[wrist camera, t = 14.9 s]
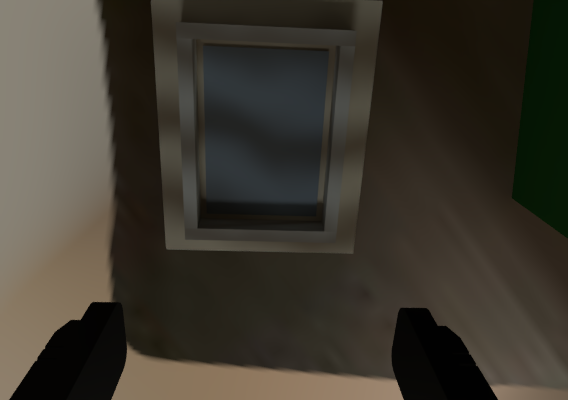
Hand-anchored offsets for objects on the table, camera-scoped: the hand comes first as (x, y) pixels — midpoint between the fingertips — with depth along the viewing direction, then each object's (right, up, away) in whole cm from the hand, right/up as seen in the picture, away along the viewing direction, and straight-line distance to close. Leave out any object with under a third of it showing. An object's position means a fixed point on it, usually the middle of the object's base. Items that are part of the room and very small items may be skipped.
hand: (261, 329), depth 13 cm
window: (-1, +9, +22) cm, 24 cm away
